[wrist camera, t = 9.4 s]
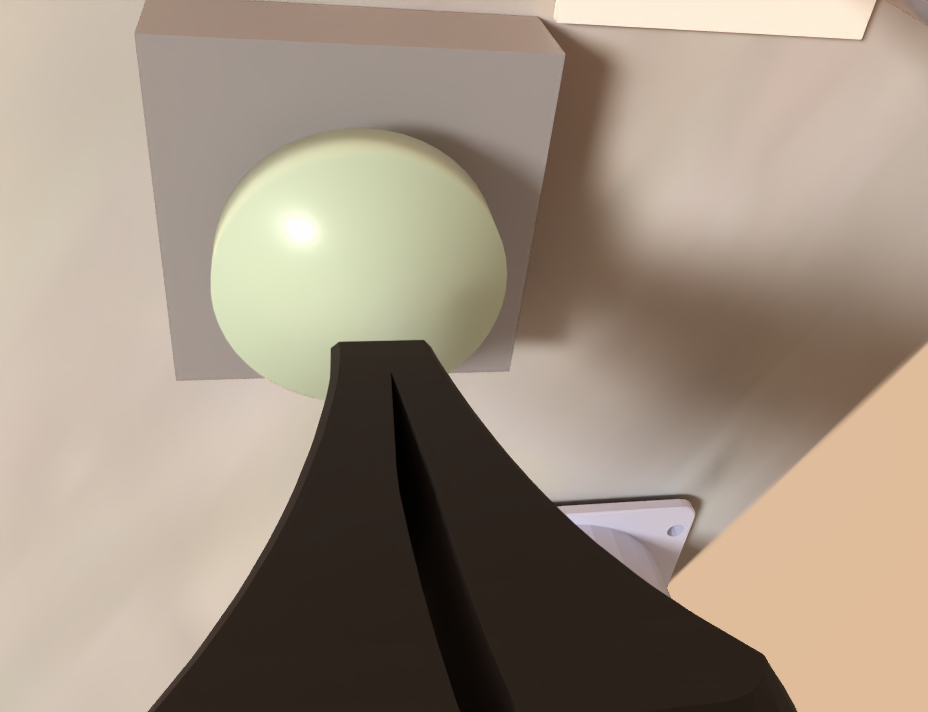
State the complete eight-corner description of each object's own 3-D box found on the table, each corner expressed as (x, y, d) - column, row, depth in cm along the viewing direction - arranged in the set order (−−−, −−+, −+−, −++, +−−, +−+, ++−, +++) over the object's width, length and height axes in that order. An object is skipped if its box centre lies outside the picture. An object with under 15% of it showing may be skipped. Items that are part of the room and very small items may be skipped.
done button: (463, 314, 19) (488, 397, 17) (225, 317, 18) (220, 407, 16) (491, 90, 16) (527, 159, 14) (208, 79, 15) (199, 151, 13)
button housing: (491, 318, 21) (509, 371, 19) (183, 322, 19) (176, 381, 18) (537, 16, 17) (565, 54, 15) (147, -6, 15) (134, 33, 14)
